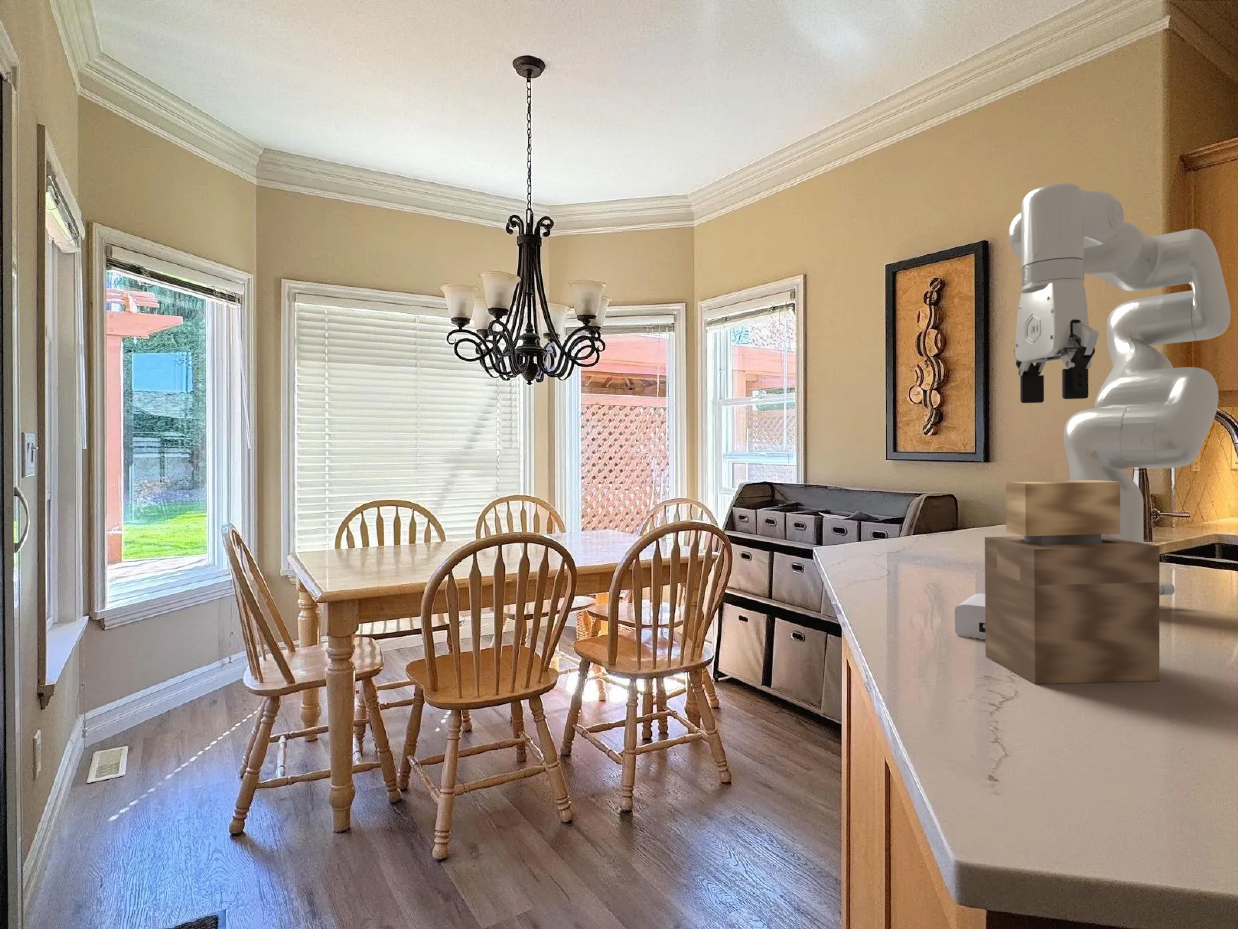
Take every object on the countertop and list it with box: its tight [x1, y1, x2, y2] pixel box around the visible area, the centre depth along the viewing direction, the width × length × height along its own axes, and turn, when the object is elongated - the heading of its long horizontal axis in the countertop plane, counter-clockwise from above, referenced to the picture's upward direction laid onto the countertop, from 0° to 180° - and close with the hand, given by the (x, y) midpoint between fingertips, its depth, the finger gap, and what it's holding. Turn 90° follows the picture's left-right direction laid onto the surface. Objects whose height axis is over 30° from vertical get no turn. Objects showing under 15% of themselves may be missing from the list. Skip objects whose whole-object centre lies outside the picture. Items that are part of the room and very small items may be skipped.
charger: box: [954, 593, 986, 640], centre depth 103 cm, size 5×9×15 cm
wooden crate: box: [984, 535, 1160, 685], centre depth 85 cm, size 14×10×15 cm
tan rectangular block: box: [1005, 480, 1120, 545], centre depth 85 cm, size 11×4×11 cm, turn 91°
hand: (1052, 400), depth 102 cm, fingers open, 9 cm apart
